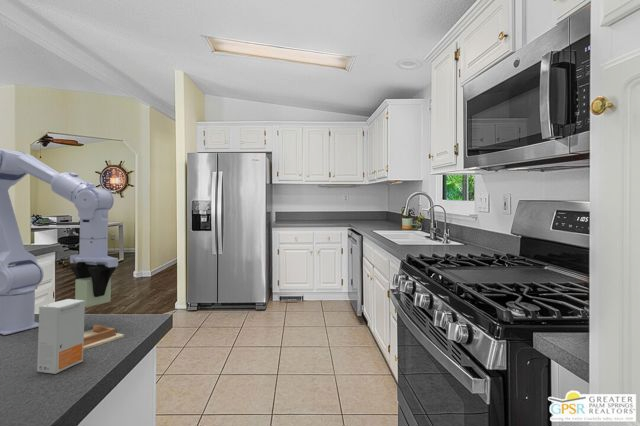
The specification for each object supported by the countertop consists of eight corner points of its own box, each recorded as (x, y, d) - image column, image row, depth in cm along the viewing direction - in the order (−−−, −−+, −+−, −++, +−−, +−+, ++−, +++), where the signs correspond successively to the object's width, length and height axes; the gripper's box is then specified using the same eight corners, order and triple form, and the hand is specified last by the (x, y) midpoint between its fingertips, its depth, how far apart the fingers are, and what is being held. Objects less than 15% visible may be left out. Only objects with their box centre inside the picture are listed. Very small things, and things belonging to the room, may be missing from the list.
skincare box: (56, 375, 64) (57, 307, 64) (36, 372, 65) (37, 306, 65) (84, 361, 70) (85, 299, 70) (66, 359, 71) (67, 298, 71)
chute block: (75, 305, 84) (75, 279, 84) (99, 299, 90) (100, 275, 90) (86, 307, 83) (86, 281, 83) (110, 301, 88) (111, 277, 88)
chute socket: (40, 346, 77) (41, 337, 77) (95, 330, 88) (96, 322, 88) (70, 355, 73) (70, 345, 73) (124, 336, 84) (124, 328, 84)
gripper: (57, 237, 85) (56, 295, 85) (98, 240, 80) (97, 302, 80) (86, 236, 92) (85, 289, 92) (126, 238, 86) (125, 295, 86)
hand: (92, 295), depth 86 cm, fingers closed on chute block, 4 cm apart
